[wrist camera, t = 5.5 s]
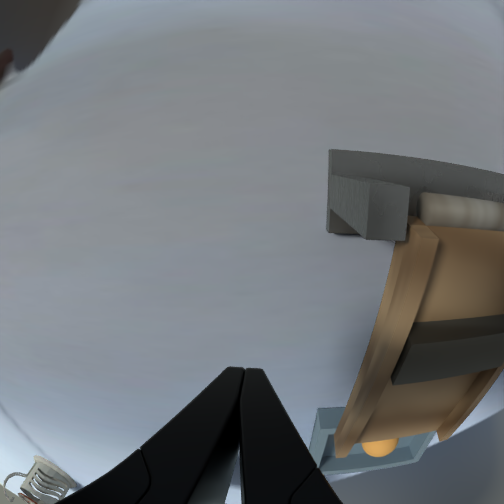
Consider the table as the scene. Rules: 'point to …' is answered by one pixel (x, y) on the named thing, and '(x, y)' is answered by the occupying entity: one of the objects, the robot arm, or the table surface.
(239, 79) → the table surface
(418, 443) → the bin
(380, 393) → the tray
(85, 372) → the table surface
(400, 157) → the hinge stand
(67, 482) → the french press
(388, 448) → the ball
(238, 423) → the robot arm
